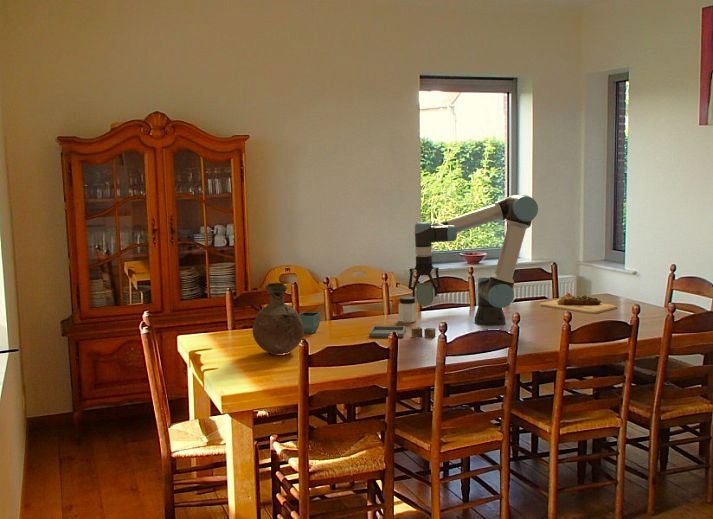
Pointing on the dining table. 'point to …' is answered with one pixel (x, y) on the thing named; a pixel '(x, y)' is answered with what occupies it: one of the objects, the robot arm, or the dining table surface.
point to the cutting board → (579, 304)
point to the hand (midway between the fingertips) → (425, 303)
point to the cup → (424, 293)
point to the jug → (277, 323)
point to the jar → (407, 309)
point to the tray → (386, 331)
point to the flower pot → (310, 321)
